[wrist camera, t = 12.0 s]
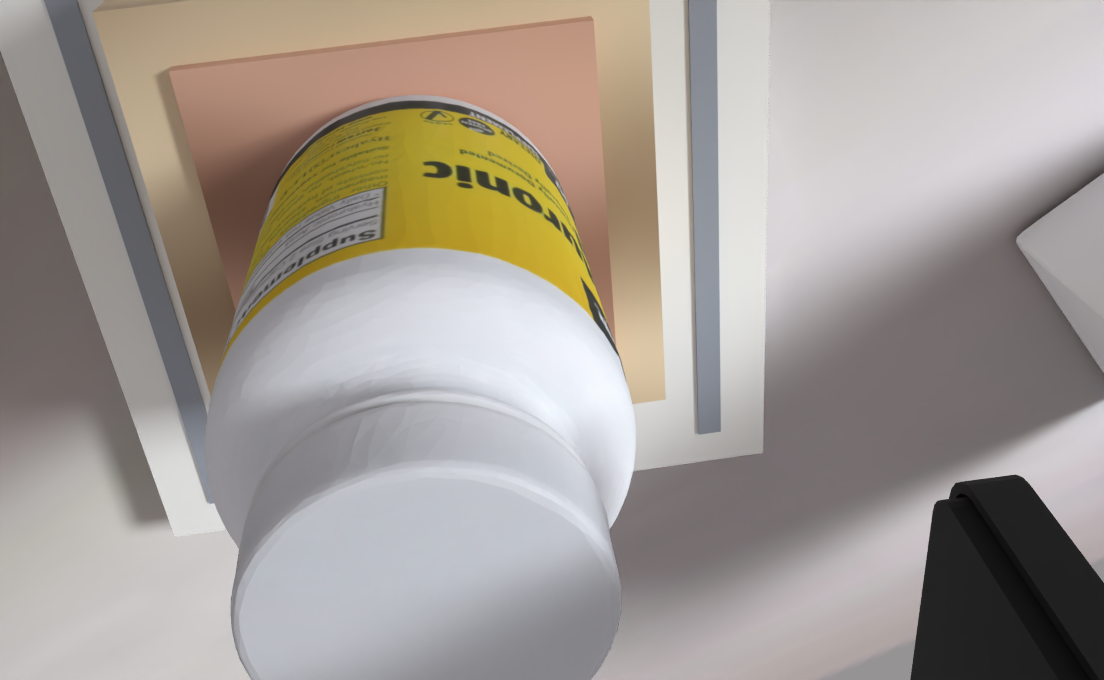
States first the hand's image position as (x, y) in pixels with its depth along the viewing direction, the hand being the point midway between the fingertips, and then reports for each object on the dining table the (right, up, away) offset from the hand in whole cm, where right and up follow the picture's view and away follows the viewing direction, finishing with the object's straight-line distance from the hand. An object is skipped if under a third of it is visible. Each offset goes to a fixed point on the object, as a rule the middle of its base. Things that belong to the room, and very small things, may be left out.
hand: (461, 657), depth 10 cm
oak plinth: (-2, +7, +13) cm, 15 cm away
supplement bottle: (-2, +5, +9) cm, 11 cm away
